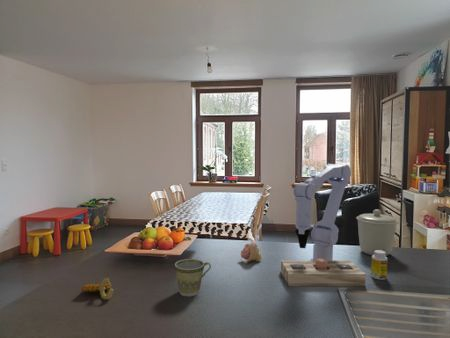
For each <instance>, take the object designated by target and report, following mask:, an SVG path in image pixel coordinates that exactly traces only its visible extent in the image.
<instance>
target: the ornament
mask: <svg viewBox="0 0 450 338" xmlns="http://www.w3.org/2000/svg"><path fill="white" fill-rule="evenodd" d="M80 290H81V292H98V291H99V293H100V294H99V295H100V298H101V299H103V300H106V301H107V300H109V299H111V297H112V296H113V293H114V289H113V288H112V284H111V282H110V278H109V277H107V278H104V279H102V281H100V283H89V284H85V285H83V286H82V287H81V288H80ZM105 291H108V292H107V294H106V292H105Z"/></svg>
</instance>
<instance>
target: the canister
mask: <svg viewBox="0 0 450 338" xmlns="http://www.w3.org/2000/svg"><path fill="white" fill-rule="evenodd" d="M355 218H356V220H357V227H358V230H357V231H358V239H359V240H358V241H359V247H360V250H361V252H363V253H364V254H366V255H370V256H373V255H374V251H375V250H381V251H384V252H386V256H385V257H387V256H389V255H390V254H391V253H392V252H393V251H392V250H393V247H394V241H395V237H396V236H395V235H396V231H397V230H396V229H397V224H399V220H398V219H396V218H395V217H393V216H391V215H387V214H382V211H381V210H380V209H374V210H373V211H372V213H362V214H359V215H358V216H356V217H355Z"/></svg>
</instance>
